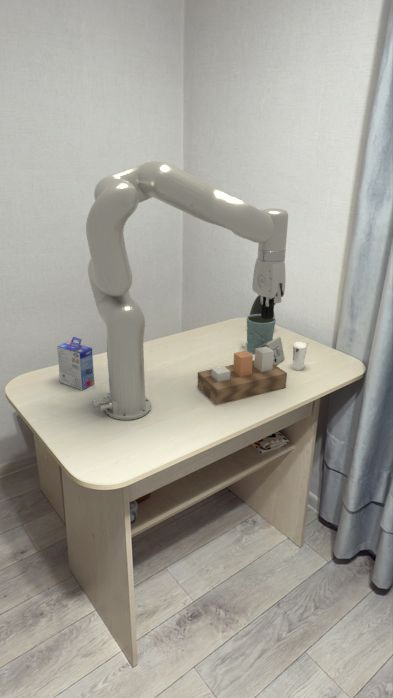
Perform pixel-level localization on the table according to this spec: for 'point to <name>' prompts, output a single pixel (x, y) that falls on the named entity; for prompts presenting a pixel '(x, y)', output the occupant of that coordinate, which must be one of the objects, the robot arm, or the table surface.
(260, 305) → the pump dispenser
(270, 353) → the grey peg right
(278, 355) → the electrical switch
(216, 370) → the grey peg left
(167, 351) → the table surface
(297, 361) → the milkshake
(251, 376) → the socket board
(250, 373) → the terracotta peg
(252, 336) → the teal plant pot
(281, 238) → the robot arm
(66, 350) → the ink cartridge box
